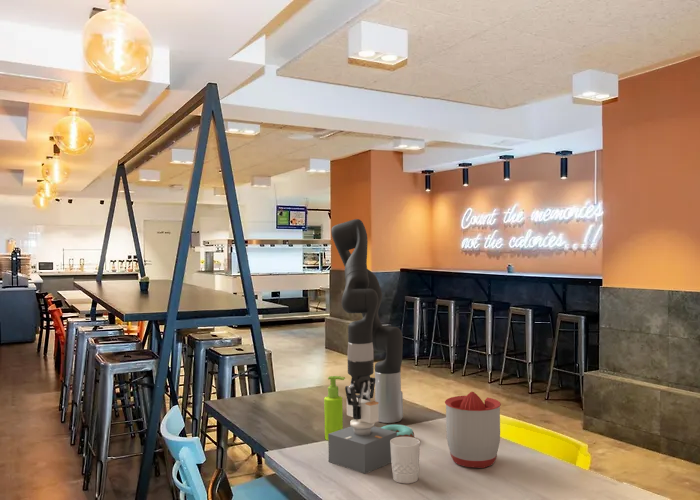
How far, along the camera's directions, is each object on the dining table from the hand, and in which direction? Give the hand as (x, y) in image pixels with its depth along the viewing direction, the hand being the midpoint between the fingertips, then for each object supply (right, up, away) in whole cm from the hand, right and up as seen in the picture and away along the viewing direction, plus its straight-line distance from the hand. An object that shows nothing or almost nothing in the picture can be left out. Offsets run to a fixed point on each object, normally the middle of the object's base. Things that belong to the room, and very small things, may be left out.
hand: (361, 416), depth 169 cm
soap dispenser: (-8, -13, +20) cm, 25 cm away
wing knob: (0, -2, 0) cm, 2 cm away
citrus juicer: (+32, -12, -1) cm, 35 cm away
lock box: (+1, -13, 0) cm, 13 cm away
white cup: (+12, -13, -14) cm, 22 cm away
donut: (+11, -13, +17) cm, 24 cm away
